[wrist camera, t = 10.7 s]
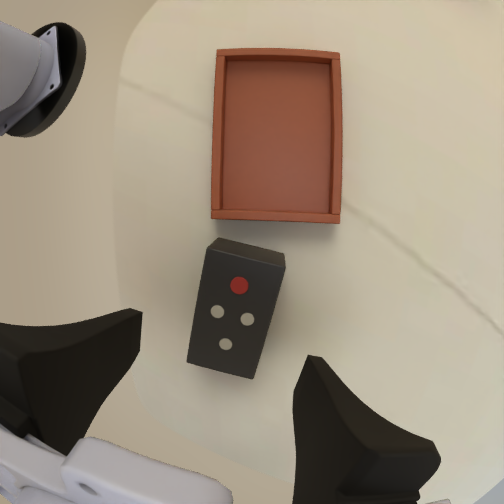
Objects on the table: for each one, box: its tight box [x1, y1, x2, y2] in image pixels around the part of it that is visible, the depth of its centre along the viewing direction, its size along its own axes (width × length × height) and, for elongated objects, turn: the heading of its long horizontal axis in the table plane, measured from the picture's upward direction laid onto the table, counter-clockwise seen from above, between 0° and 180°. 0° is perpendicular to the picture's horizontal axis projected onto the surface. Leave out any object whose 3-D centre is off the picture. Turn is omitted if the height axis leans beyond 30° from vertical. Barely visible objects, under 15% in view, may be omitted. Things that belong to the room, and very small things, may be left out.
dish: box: [211, 48, 342, 224], centre depth 15 cm, size 10×7×1 cm
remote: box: [187, 238, 286, 379], centre depth 17 cm, size 7×4×3 cm, turn 167°
